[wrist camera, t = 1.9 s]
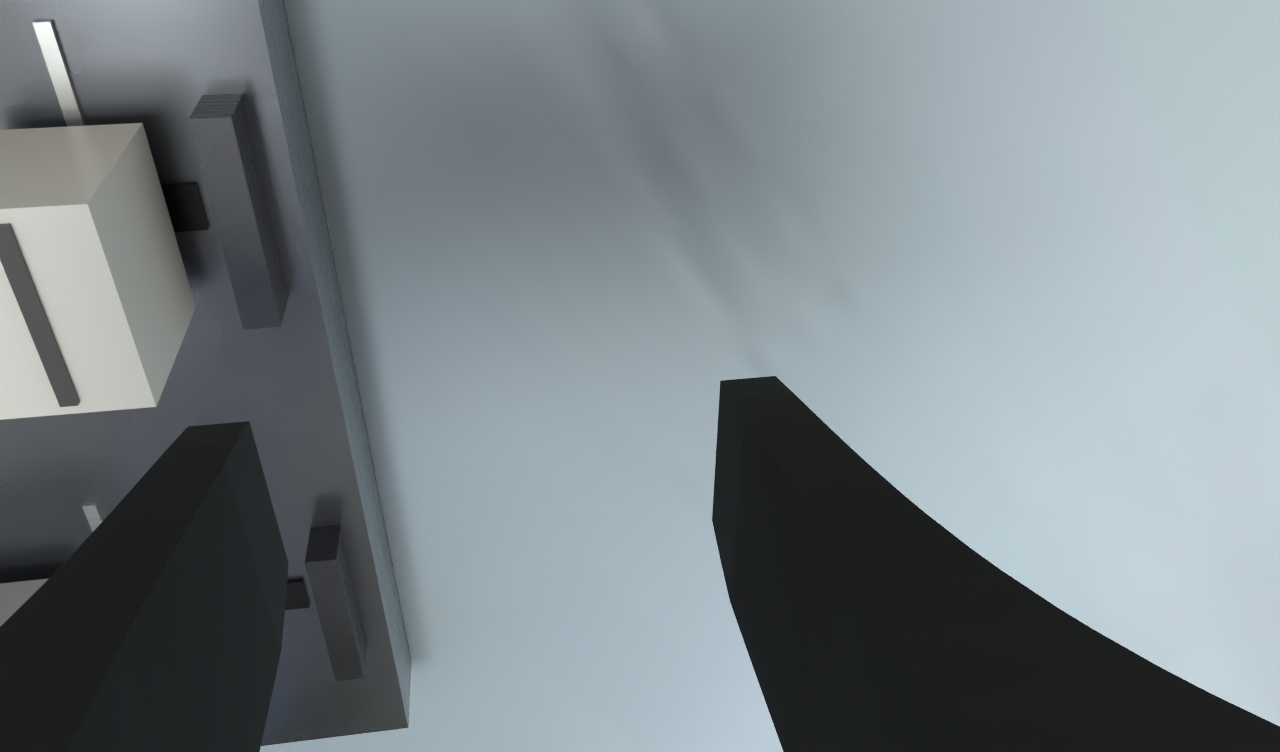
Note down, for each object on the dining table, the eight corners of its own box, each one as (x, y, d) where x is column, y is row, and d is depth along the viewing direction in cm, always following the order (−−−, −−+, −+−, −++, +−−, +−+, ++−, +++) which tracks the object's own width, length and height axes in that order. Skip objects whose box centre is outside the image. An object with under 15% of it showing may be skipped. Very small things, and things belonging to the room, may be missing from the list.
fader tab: (195, 307, 17) (154, 410, 15) (56, 317, 17) (-9, 424, 14) (142, 122, 15) (85, 207, 13) (-16, 130, 15) (-104, 218, 12)
